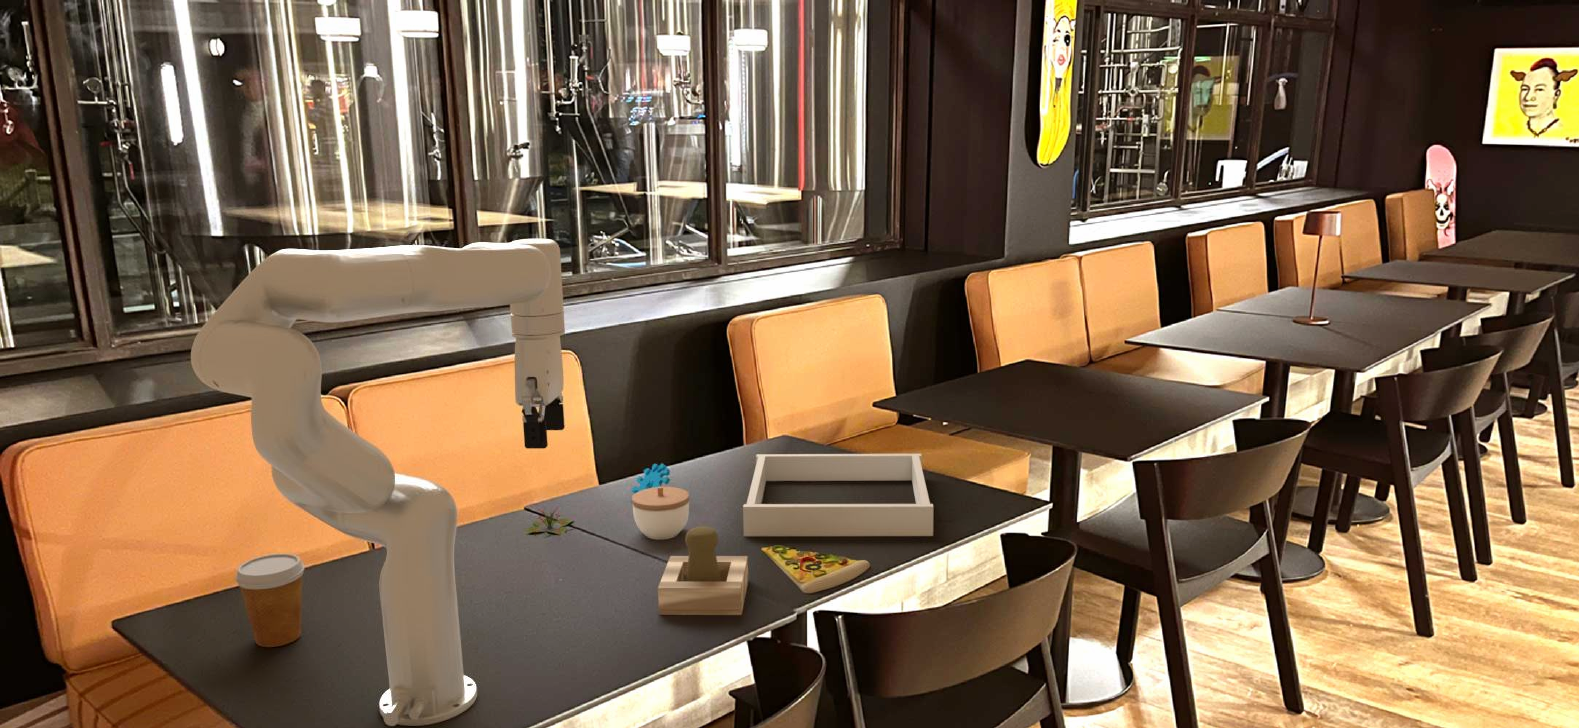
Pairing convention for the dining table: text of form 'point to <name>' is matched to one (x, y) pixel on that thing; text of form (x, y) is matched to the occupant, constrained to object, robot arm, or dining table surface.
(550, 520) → the lily flower
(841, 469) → the white rectangular frame
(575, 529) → the dining table surface
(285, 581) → the disposable coffee cup
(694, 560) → the cork
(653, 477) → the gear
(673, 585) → the caddy
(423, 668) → the robot arm
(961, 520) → the dining table surface
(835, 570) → the pizza slice
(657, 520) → the lidded jar
